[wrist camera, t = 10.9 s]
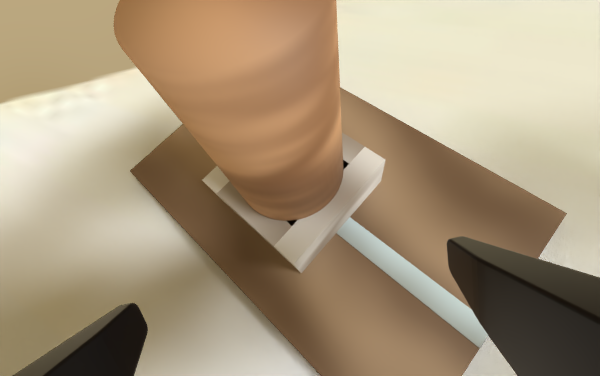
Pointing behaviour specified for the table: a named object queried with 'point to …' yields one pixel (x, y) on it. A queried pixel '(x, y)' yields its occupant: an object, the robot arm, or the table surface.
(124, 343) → the robot arm
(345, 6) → the table surface
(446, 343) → the brown board with rail
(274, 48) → the tapered tan cup
